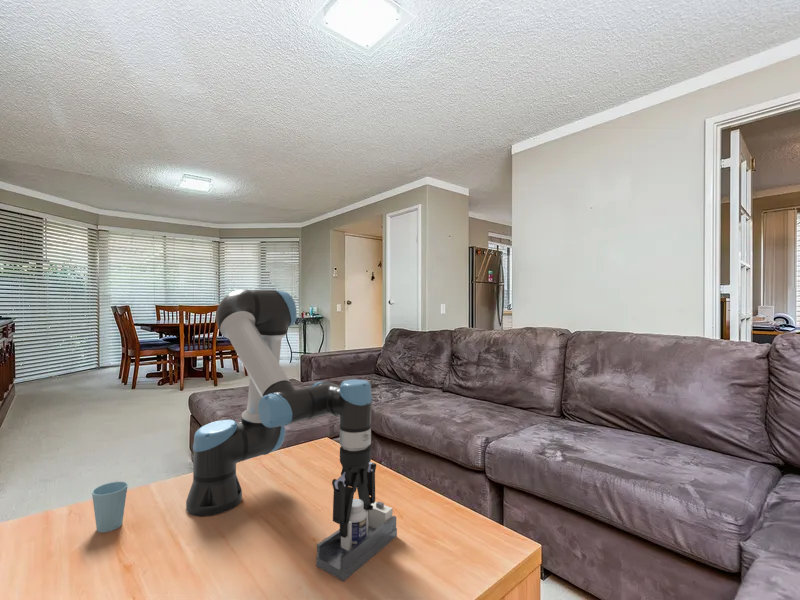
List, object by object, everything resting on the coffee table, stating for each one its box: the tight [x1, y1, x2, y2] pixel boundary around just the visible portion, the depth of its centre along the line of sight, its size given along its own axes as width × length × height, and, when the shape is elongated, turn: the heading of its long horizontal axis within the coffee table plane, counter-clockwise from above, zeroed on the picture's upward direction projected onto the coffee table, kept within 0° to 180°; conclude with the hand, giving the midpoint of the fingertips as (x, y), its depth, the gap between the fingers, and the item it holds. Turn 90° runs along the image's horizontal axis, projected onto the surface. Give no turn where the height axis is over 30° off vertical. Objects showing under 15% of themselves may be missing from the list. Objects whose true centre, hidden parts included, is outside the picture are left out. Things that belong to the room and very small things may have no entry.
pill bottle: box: [349, 498, 366, 547], centre depth 94 cm, size 5×5×10 cm
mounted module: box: [368, 501, 394, 529], centre depth 102 cm, size 6×3×6 cm, turn 55°
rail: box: [315, 515, 398, 582], centre depth 95 cm, size 8×20×5 cm, turn 145°
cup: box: [91, 481, 129, 533], centre depth 105 cm, size 8×8×10 cm
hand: (354, 541), depth 94 cm, fingers closed on pill bottle, 5 cm apart
